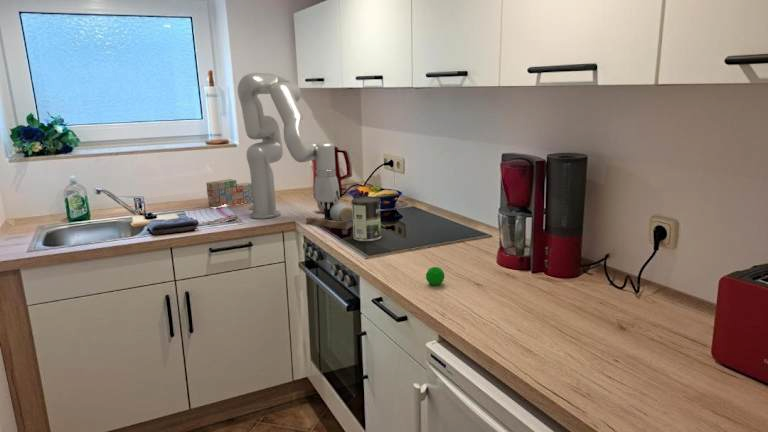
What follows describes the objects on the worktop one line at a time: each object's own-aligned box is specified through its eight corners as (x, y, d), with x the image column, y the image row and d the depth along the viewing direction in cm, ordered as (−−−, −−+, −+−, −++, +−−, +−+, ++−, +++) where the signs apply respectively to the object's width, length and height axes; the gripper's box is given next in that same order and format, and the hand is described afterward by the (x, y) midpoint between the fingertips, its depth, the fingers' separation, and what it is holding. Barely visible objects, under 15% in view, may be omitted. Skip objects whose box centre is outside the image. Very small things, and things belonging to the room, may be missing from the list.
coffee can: (382, 233, 203) (381, 196, 199) (380, 241, 193) (379, 202, 189) (354, 234, 203) (353, 196, 200) (351, 241, 193) (349, 202, 190)
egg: (314, 212, 241) (313, 193, 239) (328, 209, 245) (327, 191, 243) (323, 215, 236) (322, 196, 234) (337, 212, 240) (336, 193, 238)
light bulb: (339, 226, 215) (339, 207, 213) (329, 222, 222) (329, 203, 220) (362, 222, 221) (362, 203, 219) (352, 218, 228) (351, 200, 226)
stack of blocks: (249, 200, 273) (246, 176, 270) (255, 202, 268) (253, 177, 265) (208, 207, 259) (205, 182, 256) (214, 209, 254) (212, 183, 251)
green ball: (434, 289, 146) (434, 272, 145) (422, 284, 150) (422, 267, 149) (448, 284, 149) (448, 268, 148) (436, 280, 152) (436, 263, 151)
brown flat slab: (306, 223, 221) (305, 216, 220) (331, 215, 234) (331, 208, 233) (345, 229, 210) (345, 221, 209) (370, 220, 223) (369, 213, 223)
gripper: (306, 173, 221) (308, 217, 225) (335, 176, 213) (337, 221, 217) (317, 171, 227) (320, 214, 231) (346, 173, 219) (348, 217, 224)
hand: (328, 217), depth 224 cm, fingers closed
